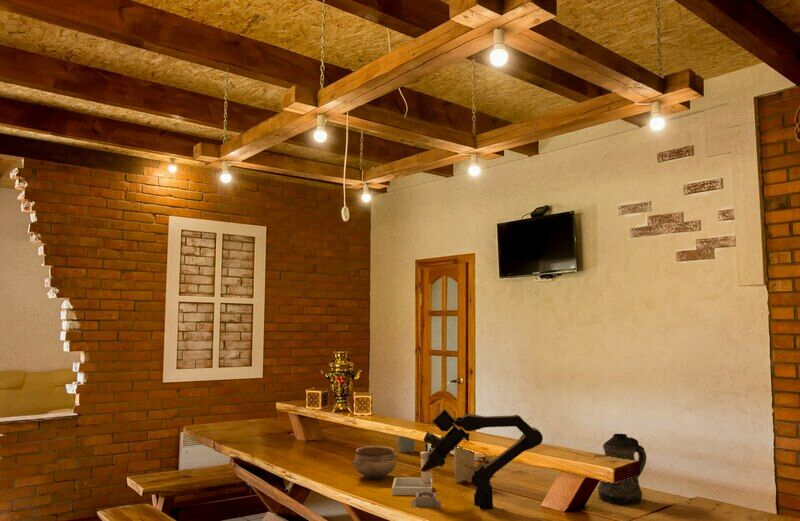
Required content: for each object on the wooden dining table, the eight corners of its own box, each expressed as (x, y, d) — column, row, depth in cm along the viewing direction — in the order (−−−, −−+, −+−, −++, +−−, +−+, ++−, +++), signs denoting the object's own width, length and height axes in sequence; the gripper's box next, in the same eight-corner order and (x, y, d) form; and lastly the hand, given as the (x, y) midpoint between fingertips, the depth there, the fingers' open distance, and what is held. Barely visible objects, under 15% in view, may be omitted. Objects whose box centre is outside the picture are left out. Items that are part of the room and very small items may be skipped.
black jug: (590, 499, 245) (588, 434, 248) (613, 490, 259) (611, 428, 261) (630, 508, 234) (628, 440, 236) (653, 498, 247) (650, 433, 250)
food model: (451, 483, 270) (450, 436, 272) (458, 480, 276) (458, 434, 278) (471, 486, 265) (470, 438, 267) (478, 483, 270) (478, 436, 272)
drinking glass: (394, 450, 339) (394, 428, 340) (410, 448, 343) (410, 426, 344) (402, 454, 330) (402, 431, 331) (419, 452, 334) (419, 429, 335)
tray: (432, 487, 264) (432, 477, 265) (431, 497, 248) (431, 488, 249) (394, 486, 265) (394, 477, 266) (391, 497, 249) (391, 487, 250)
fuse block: (440, 502, 242) (440, 490, 242) (440, 510, 232) (440, 497, 233) (412, 501, 243) (412, 489, 243) (411, 509, 233) (411, 496, 233)
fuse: (431, 484, 240) (431, 451, 241) (431, 487, 236) (431, 453, 237) (420, 484, 240) (420, 451, 242) (420, 487, 236) (420, 453, 237)
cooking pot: (365, 486, 266) (365, 457, 267) (340, 478, 280) (340, 450, 281) (409, 477, 281) (409, 449, 283) (383, 469, 296) (383, 443, 297)
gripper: (436, 421, 249) (408, 449, 249) (435, 429, 231) (405, 459, 231) (455, 441, 248) (428, 469, 248) (457, 451, 230) (427, 481, 229)
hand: (422, 469), depth 239 cm, fingers closed on fuse, 4 cm apart
